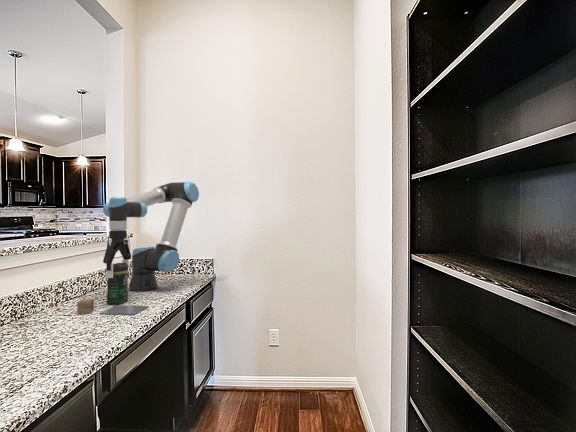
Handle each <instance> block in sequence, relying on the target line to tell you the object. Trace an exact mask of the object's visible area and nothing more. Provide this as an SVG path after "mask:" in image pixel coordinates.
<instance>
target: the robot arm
mask: <svg viewBox="0 0 576 432" xmlns="http://www.w3.org/2000/svg"><path fill="white" fill-rule="evenodd" d="M199 197H200V191H199V187H198V185H196V183H194V182H191V181H181V182H178V181H177V182H169V183H165V184H162V185H159V186H156V187H154V188H153V189H152V190H150V191H147V192H144V193H140V194H138V195H133V196H130V197H128V198H127V197H123V196H112V197H110V198H109V202H107V203H105V204H104V206H103V207H102V208H103V209H102V210H103V214H104V215H105V216H106V217H107V218H109V219H108V220H109V222H108V225H109V226H108V227H109V231H108V239H110V240H109V241H107V243H106V250H105V252H104V253H105V254H104V256H103V261H102V263H103V264H105V265H106V273H105V275H106V278H107V279H108V278H113V264H114V263H113V261H114V259H115V256H116V254H117V252H118V251H119V253H120V255H121V256H122V258H123V259H122V262H121V263H126V264H127V265H128V266H129V260H131V269H132V270H131V272H132V273H131V278H130V281H129V283H128V291H131V292H146V291H147V292H149V291H153V290H157V289H158V288H159V283H158V280H157V277H156V275H155V272H162V273H165V272H166V273H167V272H168V273H170V272H172V271H173V270H175V269H176V268H177V267H178V265H179V262H180V255H179V252H178V248H177V244H178V241H179V238H180V235H181V232H182V228H183V225H184V223H185V218H186V216H187V213H188V209H190V208H192V206H193V203H195V202H197V201H198V200H199ZM163 203H172V207H171V209H170V212H169V215H168V218H167V222H166V225H165V228H164V231H163V233H162V237H161V239H160V242H158V243H156V246H146V247H138V248H133V250H132V253H131V249H130V247H129V240H128V239H127V238H128V237H127V236H128V231H127V229H128V224H127V223H128V222H127V219H128V218H144V217H145V216H146V215H148V207H150V206H153V205H155V204H163Z"/></svg>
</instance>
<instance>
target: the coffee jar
mask: <svg viewBox="0 0 576 432" xmlns="http://www.w3.org/2000/svg"><path fill="white" fill-rule="evenodd" d="M128 274H129V264H128V265H127V264H126V263H122V262H116V263H113V278H107V289H106V290H107V292H106V294H107V295H106V303H107V304H108V305H111V304H112V305H113V306H116V305H121V304H124V303H127V301H128V300H129V292H128V291H129V282H128V278H129V277H128Z"/></svg>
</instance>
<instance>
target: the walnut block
mask: <svg viewBox="0 0 576 432" xmlns="http://www.w3.org/2000/svg"><path fill="white" fill-rule="evenodd" d="M76 309H77V310H76V311H77V312H76V313H77V315H78V316H79V315H90V313H91V314H93V312H94V311H95V310H94V309H95V301H94V298H93V299H92V298H91V299H80V300H79V301H77V308H76Z"/></svg>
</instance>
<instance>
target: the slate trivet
mask: <svg viewBox="0 0 576 432" xmlns="http://www.w3.org/2000/svg"><path fill="white" fill-rule="evenodd" d="M149 307H150V306H149V305H121V304H115V305H113V306H112V307H109V308H108V309H105V310H103V311H100V312H99V314H105V315H106V316H107V315H109V316H136V315H139V313H141V312H143V311H145V310H147V309H149Z"/></svg>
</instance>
